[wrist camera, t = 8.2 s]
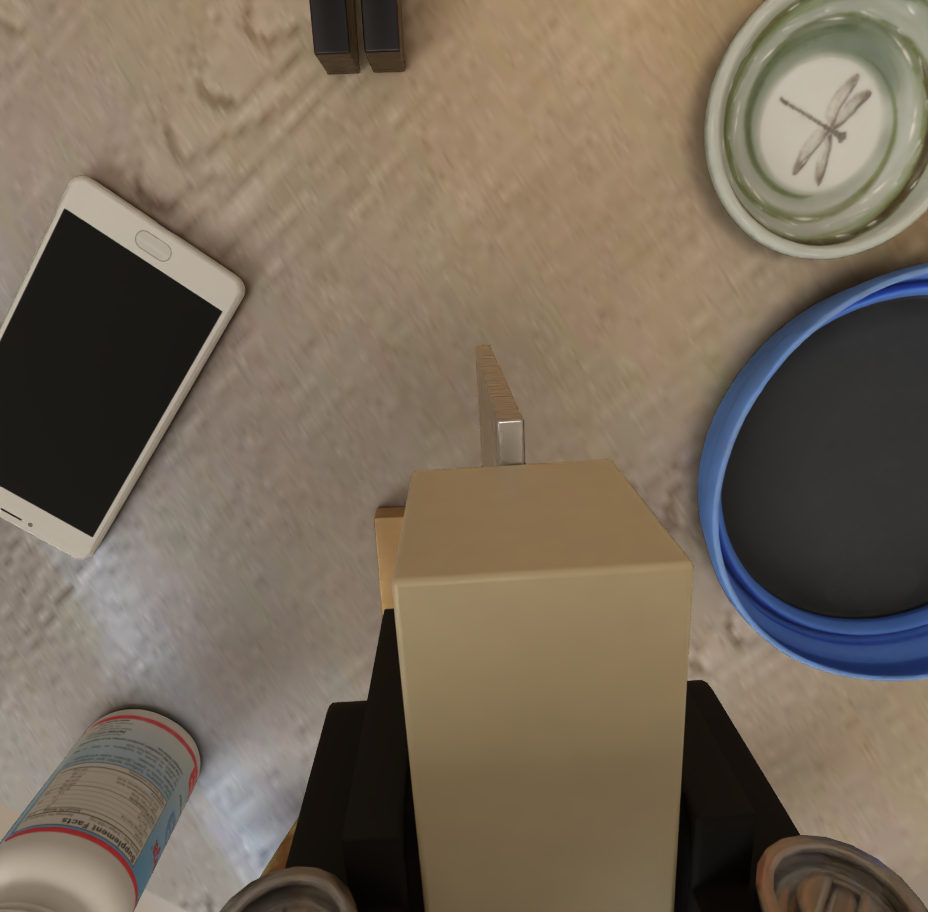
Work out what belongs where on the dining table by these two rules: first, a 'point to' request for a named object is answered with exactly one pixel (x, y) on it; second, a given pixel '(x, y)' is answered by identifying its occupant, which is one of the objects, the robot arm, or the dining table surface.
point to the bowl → (830, 483)
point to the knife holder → (340, 36)
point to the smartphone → (99, 361)
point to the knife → (541, 679)
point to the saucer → (823, 124)
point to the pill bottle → (100, 818)
